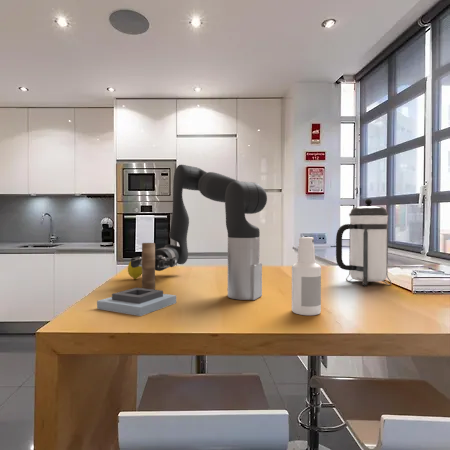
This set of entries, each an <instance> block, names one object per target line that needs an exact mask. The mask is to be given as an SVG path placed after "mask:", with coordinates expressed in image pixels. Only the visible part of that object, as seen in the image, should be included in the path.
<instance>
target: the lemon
mask: <svg viewBox="0 0 450 450" xmlns="http://www.w3.org/2000/svg"><path fill="white" fill-rule="evenodd" d="M127 272H128V275H129V276H130V278H133V279H134V280H137V279H138V278H140V277H142V267H141V266H138V267H135V268H132V266H131V260H130V261H129V263H128V265H127Z"/></svg>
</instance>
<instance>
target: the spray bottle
mask: <svg viewBox="0 0 450 450" xmlns="http://www.w3.org/2000/svg"><path fill="white" fill-rule="evenodd" d="M314 239H315V238H314V237H311V236H310V237H309V236H303V237H300V236H299V238H298V246H297V250H298V251H297V262H295V263H294V264H293V265H291V311H292V313H294V314H297V315H301V316H317V315H320V314H321V312H322V311H321V310H322V267H321V265H320V264H318V263H316V251H315V242H314Z"/></svg>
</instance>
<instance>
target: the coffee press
mask: <svg viewBox="0 0 450 450" xmlns="http://www.w3.org/2000/svg"><path fill="white" fill-rule="evenodd" d="M372 202H373V201H372V199H370V198H367V199H365V201H364V203H365V205H363V206H361V205H360V206H356V207H353V208H352V209H351V211H350V212H349V213H348V216H349V218H350V220H349V221H350V222H349V223H350V224H349V223H346V224H343V225H341V226H339V228H338V230H337V231H336V237H335V257H336V258H335V260H336V264H337V266H338V267H339V268H341V270H344V271H349V272H348V276H347V277H346V278H345V281H346V282H347V281H349V282H350V281H352V280H355V281H356V280H357V281H360V282H361V281H362V287H368V284H369V282H370V283H371V282H373V283H375V282H377V283H378V282H383V283H385V285H386V286H391V285H392V281H391V279H390V277H389V274H388V273H389V269H388V267H389V265H388V263H389V260H388V259H389V257H388V256H389V250H388V249H389V224H388V219H389V218H388V217H389V213H388V211H387V208H385V207H383V206H379V205H372ZM347 230H349V258H348V259H349V265H348V264H345V263H344V262H343V234H344V232H345V231H347ZM349 276H350V277H351V279H350V280H348V278H349ZM386 279H388V281H389V282H390V284H389V283H387V281H386Z"/></svg>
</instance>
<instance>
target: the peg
mask: <svg viewBox="0 0 450 450" xmlns="http://www.w3.org/2000/svg"><path fill="white" fill-rule="evenodd" d="M155 250H156V243H155V242H142V243H141V257H142V274H141V288H144V289H153V290H156V270H155Z"/></svg>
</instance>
